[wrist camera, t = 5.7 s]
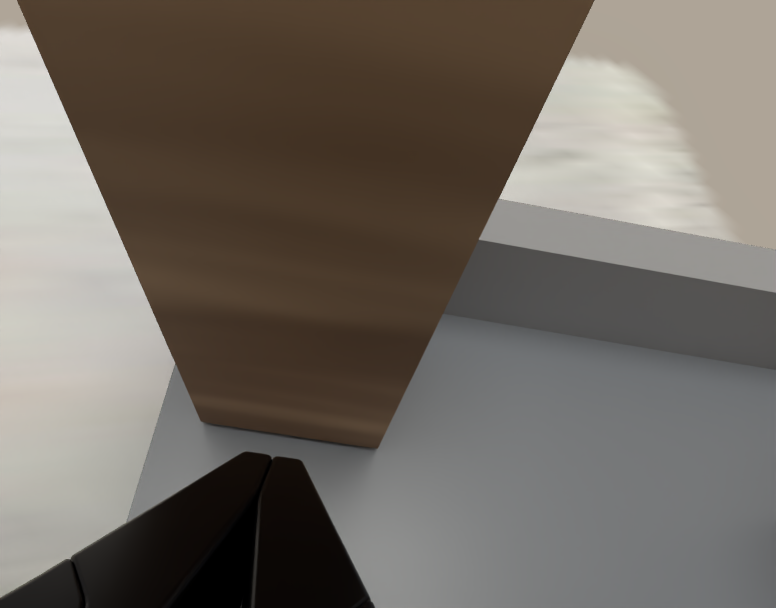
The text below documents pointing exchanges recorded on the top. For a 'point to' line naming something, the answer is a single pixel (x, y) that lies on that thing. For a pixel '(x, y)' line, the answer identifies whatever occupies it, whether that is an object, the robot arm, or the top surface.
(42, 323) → the top surface
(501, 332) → the grey stepped base
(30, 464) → the top surface
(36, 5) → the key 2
